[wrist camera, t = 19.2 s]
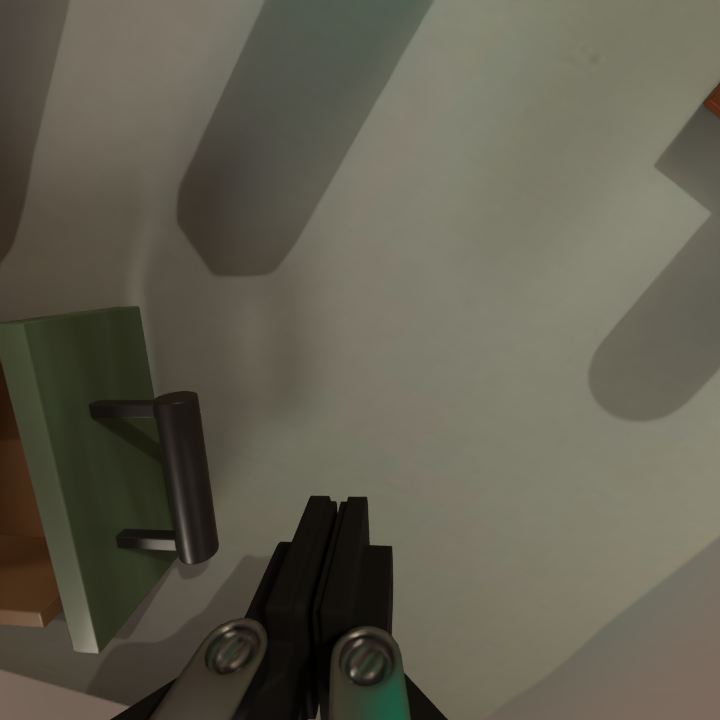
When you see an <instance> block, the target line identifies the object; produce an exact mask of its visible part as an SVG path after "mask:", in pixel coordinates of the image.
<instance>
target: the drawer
mask: <svg viewBox="0 0 720 720" xmlns="http://www.w3.org/2000/svg"><path fill="white" fill-rule="evenodd" d="M218 548H219V543H218V535H217V528H216V521H215V514H214V507H213V500H212V493H211V486H210V478H209V471H208V464H207V457H206V450H205V443H204V436H203V429H202V421H201V414H200V407H199V400H198V395H197V393H195V392H190V391H181V392H173V393H168V394H165V395H162V396H159V397H157V398H156V399H154V393H153V387H152V381H151V375H150V369H149V363H148V357H147V351H146V345H145V339H144V333H143V327H142V321H141V315H140V309H139V307H138V306H130V307H113V308H105V309H98V310H91V311H83V312H76V313H68V314H61V315H53V316H46V317H39V318H31V319H24V320H16V321H9V322H1V323H0V624H2V625H15V626H28V627H40V628H44V627H45V626H46V625H47V624H48V623H49V622H50V621H51V620H53V619H54V618H55V617H56V616H57V615H58V614H59V613H60V612H61V611H62V610H64V614H65V618H66V622H67V626H68V630H69V634H70V638H71V642H72V646H73V650H74V651H75V652H84V653H95V654H100V653H101V652H102V650H103V649H104V648H105V647H106V645H107V644H108V643H109V642H110V640H111V639H112V638H113V637H114V635H115V634H116V633H117V632H118V630H119V629H120V628H121V627H122V625H123V624H124V623H125V622H126V620H127V619H128V618H129V617H130V615H131V614H132V613H133V612H134V610H135V609H136V608H137V607H138V605H139V604H140V603H141V602H142V600H143V599H144V598H145V597H146V595H147V594H148V593H149V592H150V590H151V589H152V588H153V587H154V585H155V584H156V583H157V582H158V580H159V579H160V578H161V577H162V575H163V574H164V573H165V572H166V570H167V569H168V568H169V567H170V565H171V564H172V563H173V562H174V560H175V559H176V558H177V557H178V555H179V559H180V560H181V561H182V562H183V563H185V564H198V563H201V562H204V561H206V560H208V559H210V558H211V557H212V556H214V555H215V553H216V552H217V550H218Z"/></svg>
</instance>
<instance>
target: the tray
mask: <svg viewBox="0 0 720 720" xmlns="http://www.w3.org/2000/svg"><path fill="white" fill-rule="evenodd" d="M703 105H705V106H706V107H707V108H708V109H709V110H711V111H712V112H713V113H714V114H716V115H717V116H718V117H719V118H720V84H719V85H718V86H717V87H716V89H715V90H714V91H713V92H712V93H711V94H710V96H709V97H708V98H707V99H706V100H705V101H704V103H703Z"/></svg>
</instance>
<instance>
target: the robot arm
mask: <svg viewBox="0 0 720 720" xmlns="http://www.w3.org/2000/svg"><path fill="white" fill-rule="evenodd" d="M392 611H393V555H392V546H378V545H370V542H369V520H368V500H367V497H348V500H347V502H341V504H340V507H339V511H338V513H337V503H336V501H331V500H330V497H329V496H310V498H309V501H308V503H307V506H306V508H305V511H304V513H303V516H302V518H301V520H300V523H299V525H298V528H297V530H296V533H295V535H294V538H293V540H292V542H280V543H279V544H278V545H277V547H276V549H275V551H274V554H273V556H272V558H271V560H270V562H269V565H268V567H267V569H266V571H265V573H264V576H263V578H262V580H261V582H260V585H259V587H258V589H257V591H256V593H255V596H254V598H253V600H252V602H251V604H250V607H249V609H248V611H247V613H246V616H245V618H239V619H234V620H230V621H228V622H226V623H224V624H221V625H220V626H218V627H217V628H216V629H214V630H213V631H212V632H211V633H210V634H209V635H208V636H207V637H206V638H205V639H204V641H203V642H202V643H201V645H200V646H199V648H198V649H197V651H196V652H195V653H194V655H193V656H192V658H191V659H190V661H189V662H188V664H187V665H186V666H185V668H184V669H183V671H182V672H181V674H180V675H179V677H178V678H176V679H174V680H173V681H171V682H170V683H168V684H166V685H165V686H163V687H162V688H160V689H158V690H157V691H155V692H154V693H152V694H150V695H149V696H147V697H146V698H144V699H142V700H141V701H139V702H138V703H136V704H134V705H133V706H131V707H130V708H128V709H127V710H125V711H124V712H122V713H120V714H119V715H117V716H115V717H114V718H112V719H111V720H308V719H315V718H316V715H317V711H318V706H319V705H320V716H321V720H448V719H447V718H446V717H445V716H444V715H443V714H442V713H441V712H440V711H439V710H438V709H437V708H436V706H435V705H434V704H433V703H432V702H431V701H430V700H429V699H428V698H427V697H426V696H425V695H424V694H423V692H422V691H421V690H420V689H419V688H418V687H417V686H416V685H415V684H414V683H413V682H412V681H411V680H410V678H409V677H408V676H407V675H406V674H405V673H404V669H403V662H402V656H401V652H400V649H399V646H398V644H397V642H396V641H395V640H394V638H393V637H392Z"/></svg>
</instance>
